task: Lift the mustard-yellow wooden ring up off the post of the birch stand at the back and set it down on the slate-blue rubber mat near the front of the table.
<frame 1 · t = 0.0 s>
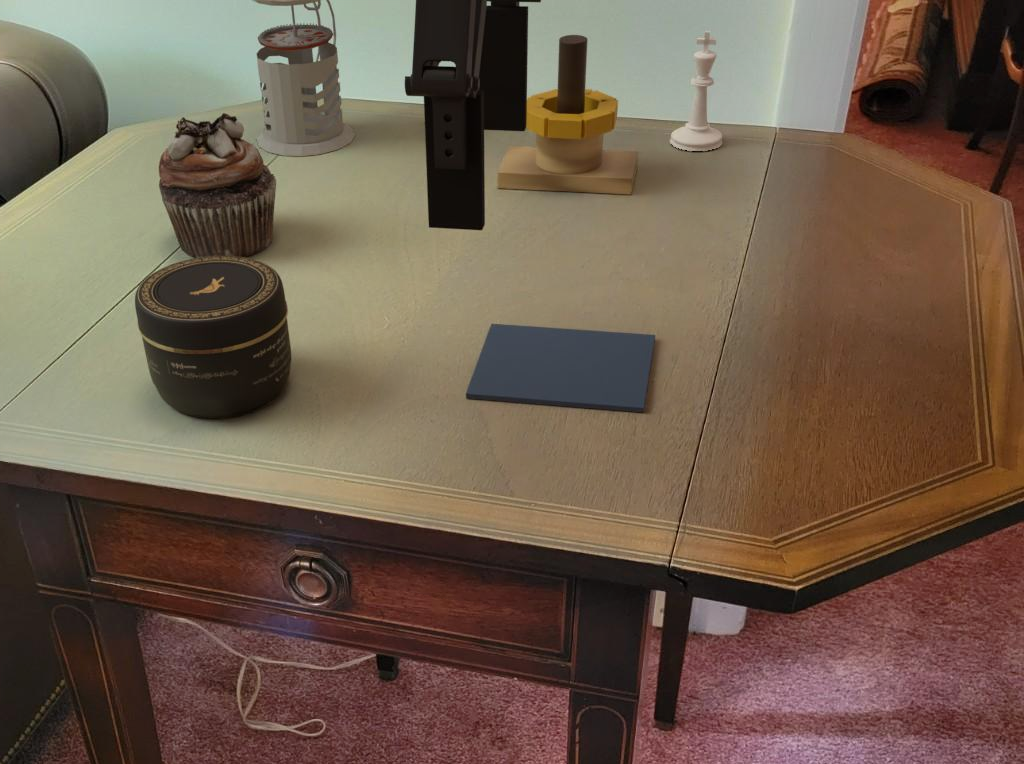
hand: (481, 174, 66), 18 cm above the table, tool pointing down, fingers open, 13 cm apart
mat: (563, 368, 85), on the table
cupcake: (227, 242, 104), on the table
ring: (570, 113, 107), point 6 cm above the table, touching stand
chess piece: (695, 144, 116), on the table
french press: (309, 136, 122), on the table
stand: (568, 177, 111), on the table
jar: (225, 388, 85), on the table
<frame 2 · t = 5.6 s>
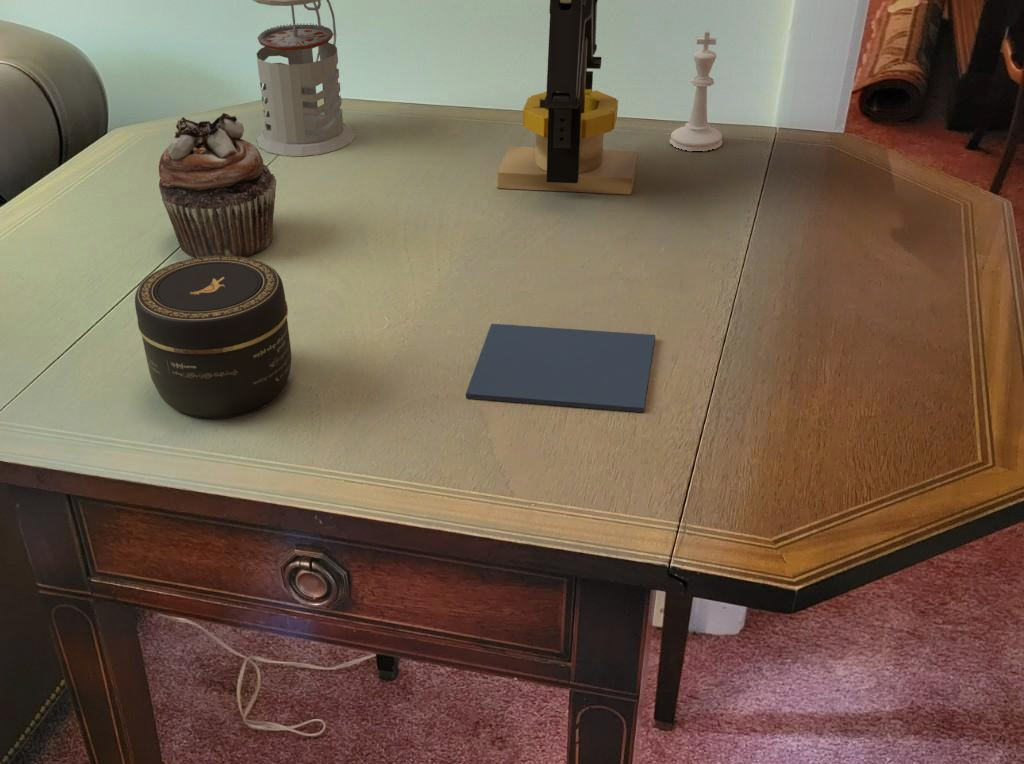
hand: (568, 162, 110), 1 cm above the table, tool pointing down, fingers closed on ring, 8 cm apart
ring: (570, 113, 107), point 6 cm above the table, touching gripper, stand
everything else where it was.
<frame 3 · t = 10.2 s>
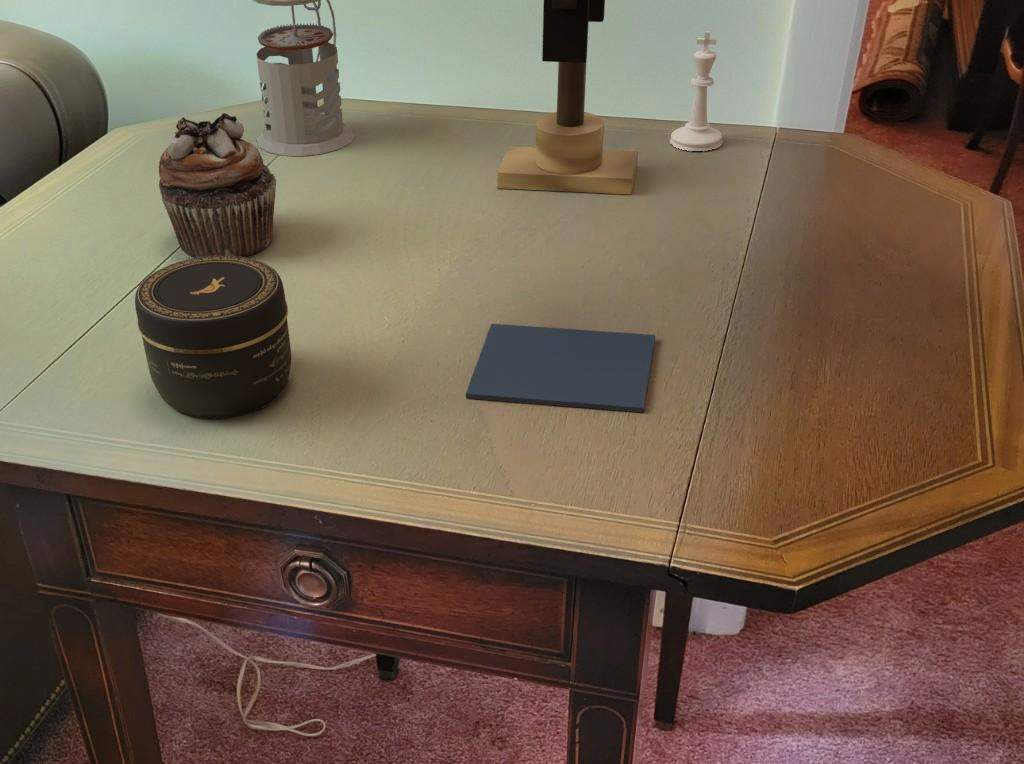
hand: (574, 38, 79), 19 cm above the table, tool pointing down, fingers closed on ring, 8 cm apart
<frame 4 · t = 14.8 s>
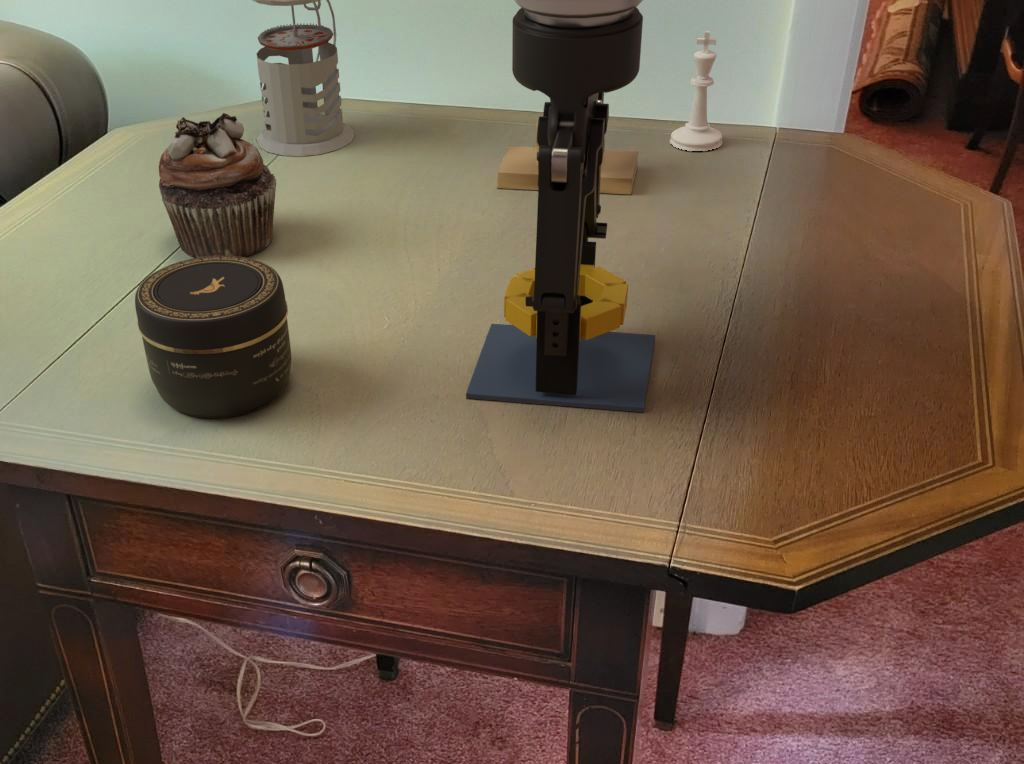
hand: (564, 357, 85), 1 cm above the table, tool pointing down, fingers closed on ring, 8 cm apart
ring: (566, 300, 82), point 5 cm above the table, touching gripper
everything else where it was.
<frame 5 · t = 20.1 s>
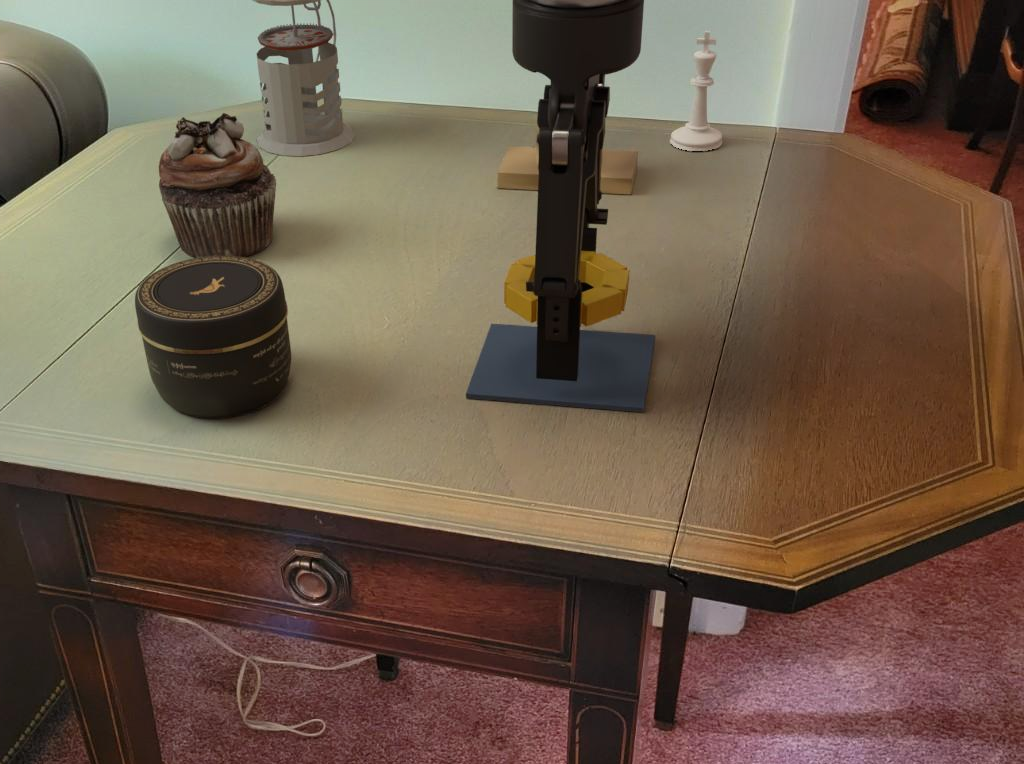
hand: (565, 344, 84), 2 cm above the table, tool pointing down, fingers closed on ring, 8 cm apart
ring: (566, 287, 81), point 6 cm above the table, touching gripper
everything else where it was.
when the fingers open (3 cm above the table, at t = 25.3 s): ring drops 6 cm, resting on mat.
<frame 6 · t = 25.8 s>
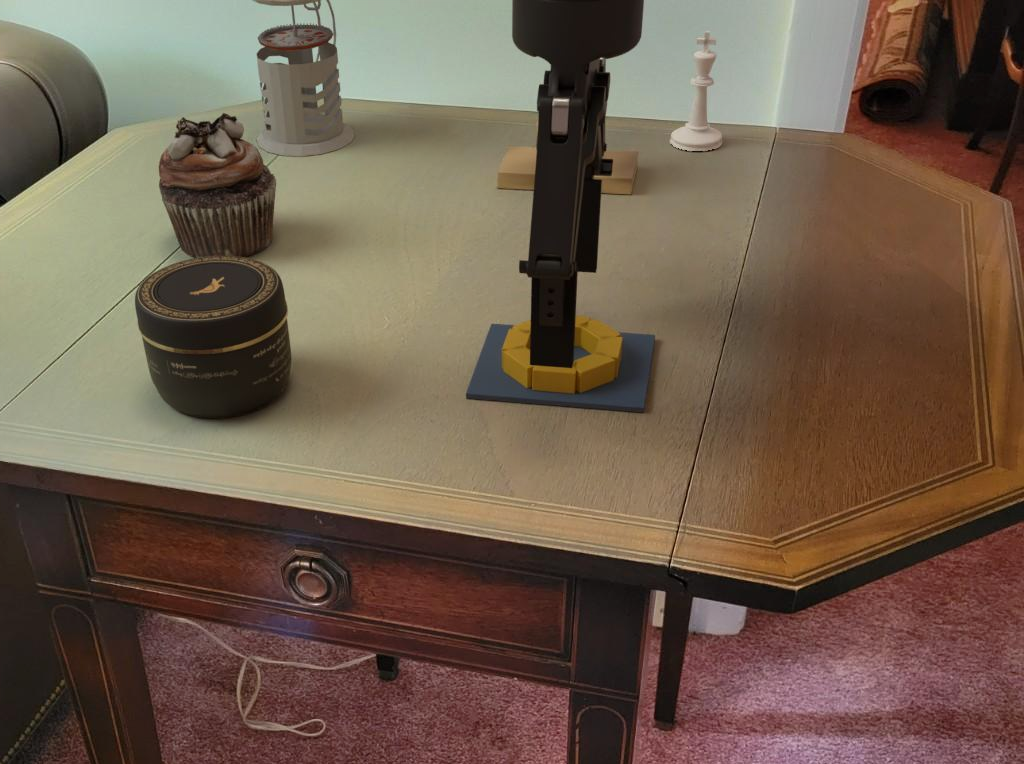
hand: (565, 314, 83), 4 cm above the table, tool pointing down, fingers open, 13 cm apart
ring: (562, 352, 85), point 1 cm above the table, touching mat
everything else where it was.
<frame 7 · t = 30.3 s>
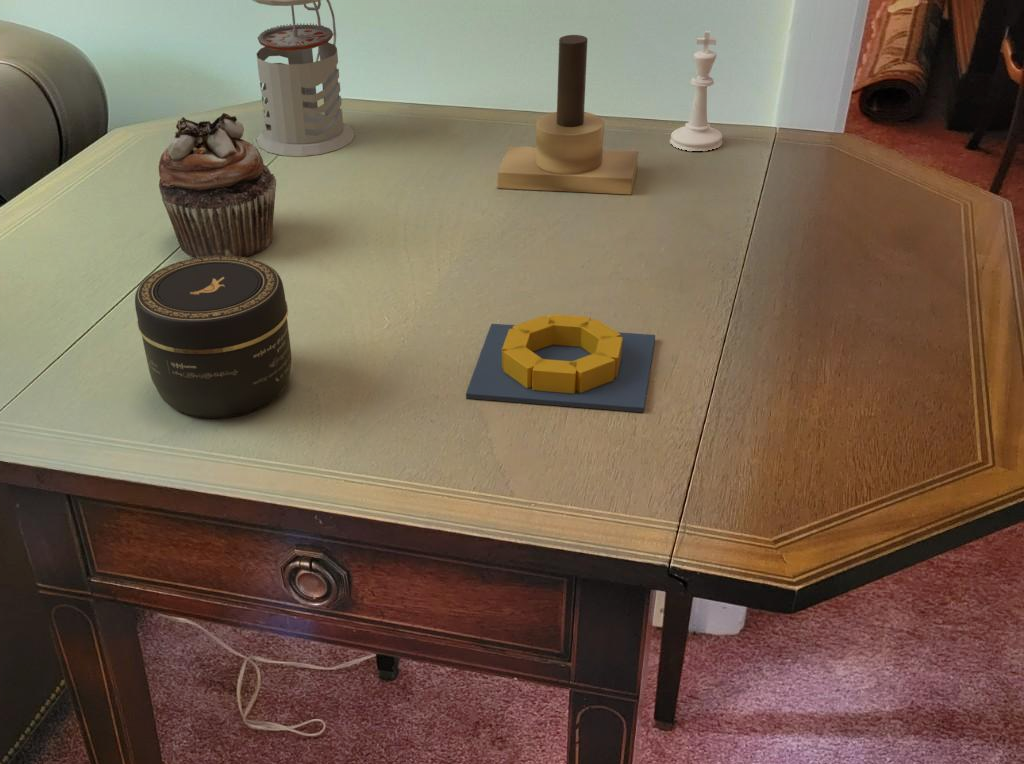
nothing on the table moved.
at the end: ring inside the target area on the mat (0.1 cm from its centre), point 1.2 cm above the mat's base; the gripper is holding nothing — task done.
